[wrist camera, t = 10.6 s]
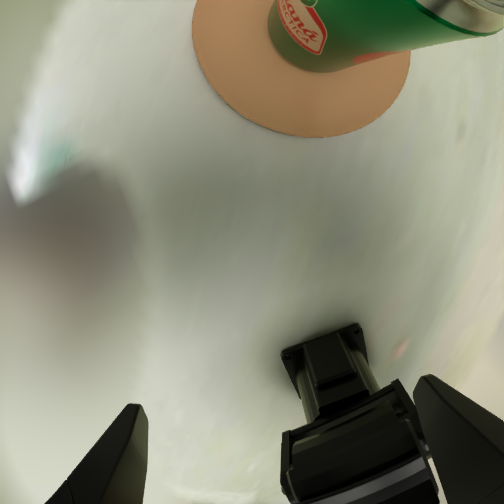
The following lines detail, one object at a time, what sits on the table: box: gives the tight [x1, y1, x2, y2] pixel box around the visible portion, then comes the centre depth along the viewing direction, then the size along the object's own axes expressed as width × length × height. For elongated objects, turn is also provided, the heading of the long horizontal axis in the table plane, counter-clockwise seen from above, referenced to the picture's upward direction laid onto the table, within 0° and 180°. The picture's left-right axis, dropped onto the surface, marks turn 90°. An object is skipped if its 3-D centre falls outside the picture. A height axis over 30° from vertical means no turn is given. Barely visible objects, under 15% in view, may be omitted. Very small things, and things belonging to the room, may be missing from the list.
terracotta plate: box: [192, 0, 411, 137], centre depth 14 cm, size 12×12×2 cm
